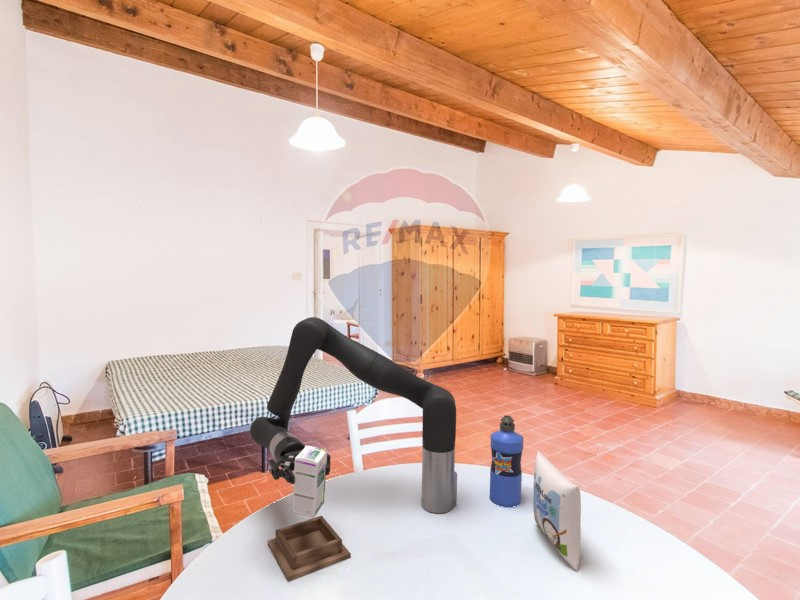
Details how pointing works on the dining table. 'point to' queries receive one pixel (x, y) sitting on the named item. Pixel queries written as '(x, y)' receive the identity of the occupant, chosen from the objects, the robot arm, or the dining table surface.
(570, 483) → the pouch
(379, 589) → the dining table surface
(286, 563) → the holder stand
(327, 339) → the robot arm
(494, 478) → the water bottle
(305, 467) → the syrup box
